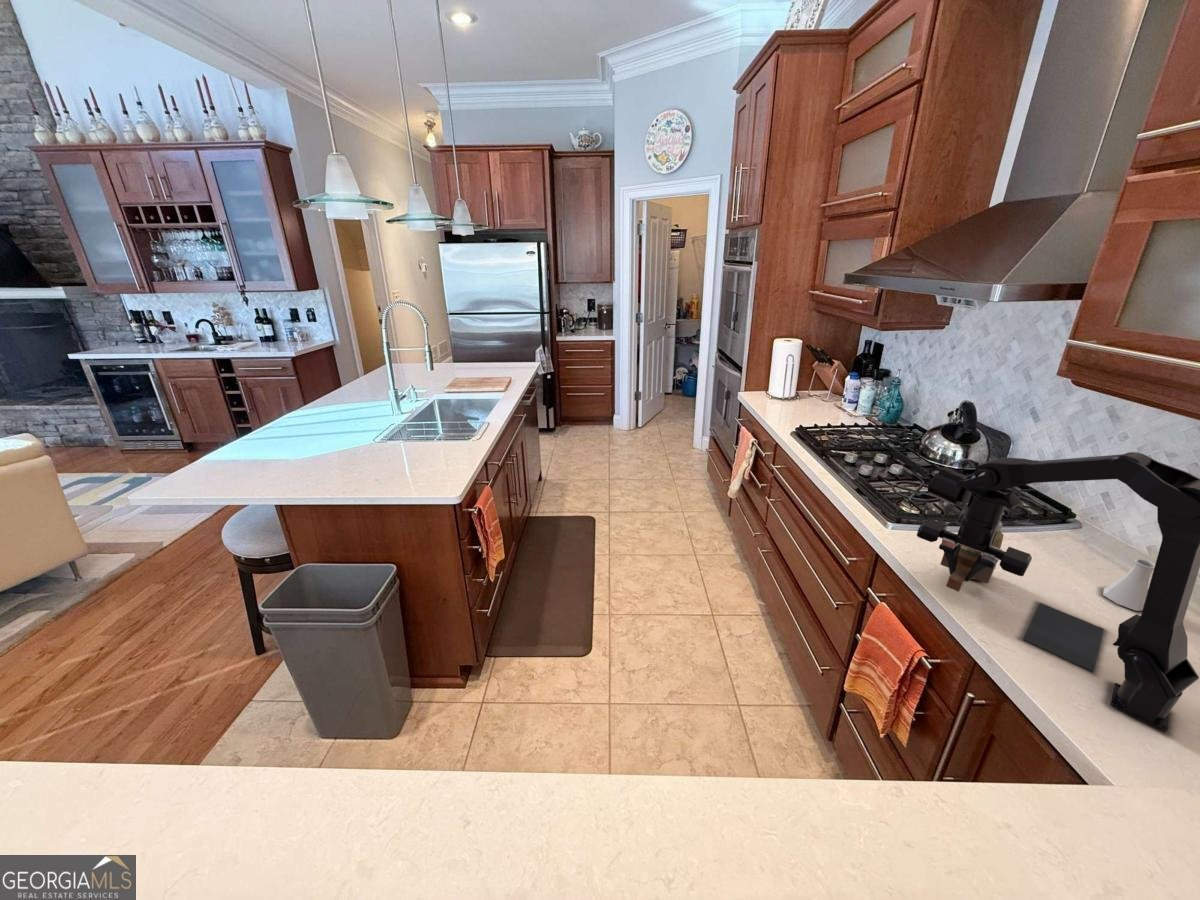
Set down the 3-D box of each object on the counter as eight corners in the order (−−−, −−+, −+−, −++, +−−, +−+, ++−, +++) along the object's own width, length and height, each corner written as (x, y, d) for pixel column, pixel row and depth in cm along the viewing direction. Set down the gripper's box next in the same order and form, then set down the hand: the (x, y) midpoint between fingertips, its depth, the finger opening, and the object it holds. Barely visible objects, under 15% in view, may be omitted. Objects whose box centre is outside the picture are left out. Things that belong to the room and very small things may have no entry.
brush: (977, 600, 97) (983, 584, 96) (928, 578, 104) (933, 564, 102) (993, 575, 105) (999, 560, 103) (946, 556, 111) (951, 542, 110)
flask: (1110, 585, 108) (1130, 549, 104) (1155, 605, 102) (1178, 568, 98) (1095, 594, 105) (1115, 557, 101) (1140, 615, 99) (1163, 577, 95)
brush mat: (1092, 672, 86) (1093, 671, 86) (1022, 640, 93) (1023, 638, 93) (1103, 630, 95) (1103, 628, 95) (1039, 603, 102) (1039, 602, 102)
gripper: (1049, 521, 95) (1021, 583, 101) (942, 488, 108) (923, 545, 114) (1038, 541, 88) (1009, 606, 94) (925, 503, 101) (906, 563, 107)
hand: (959, 577), depth 103 cm, fingers closed on brush, 2 cm apart
